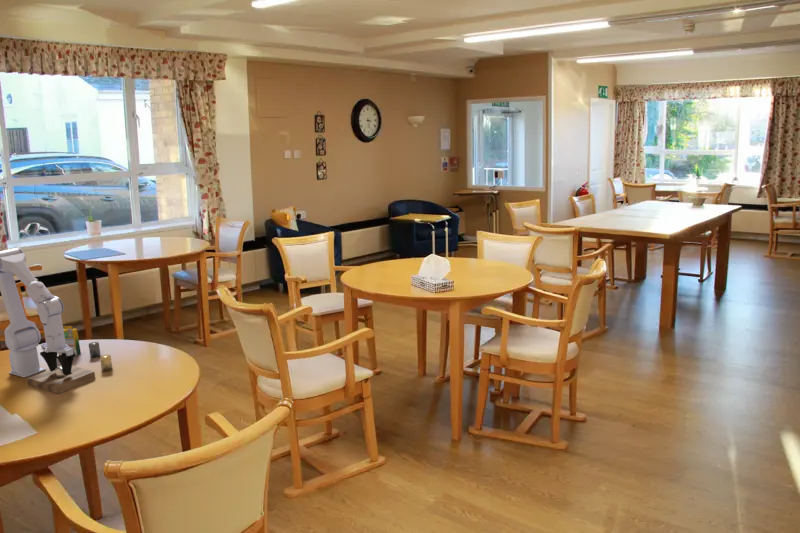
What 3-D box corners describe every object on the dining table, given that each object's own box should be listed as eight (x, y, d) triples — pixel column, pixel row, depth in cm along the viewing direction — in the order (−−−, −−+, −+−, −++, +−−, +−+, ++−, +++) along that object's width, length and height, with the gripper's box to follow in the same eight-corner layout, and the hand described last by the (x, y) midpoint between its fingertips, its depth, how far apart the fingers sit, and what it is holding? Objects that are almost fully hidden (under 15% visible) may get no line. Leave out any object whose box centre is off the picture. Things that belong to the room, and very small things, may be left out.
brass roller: (99, 370, 244) (97, 357, 243) (108, 367, 247) (106, 354, 246) (106, 372, 242) (104, 358, 241) (114, 368, 245) (112, 355, 244)
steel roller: (55, 381, 235) (53, 368, 234) (65, 378, 238) (63, 364, 237) (60, 384, 233) (58, 370, 232) (70, 380, 236) (68, 366, 235)
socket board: (28, 384, 234) (27, 378, 233) (66, 370, 245) (65, 363, 245) (57, 393, 226) (56, 386, 225) (95, 378, 237) (94, 371, 237)
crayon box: (81, 352, 262) (76, 323, 260) (77, 355, 260) (72, 326, 257) (62, 352, 263) (58, 323, 260) (58, 355, 260) (53, 326, 258)
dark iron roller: (88, 357, 258) (86, 344, 257) (96, 354, 261) (94, 341, 260) (94, 358, 256) (92, 345, 255) (102, 355, 259) (100, 342, 258)
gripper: (30, 334, 232) (36, 372, 235) (56, 340, 224) (63, 380, 228) (49, 328, 238) (55, 365, 241) (76, 334, 230) (82, 372, 233)
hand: (60, 372), depth 235 cm, fingers open, 7 cm apart
